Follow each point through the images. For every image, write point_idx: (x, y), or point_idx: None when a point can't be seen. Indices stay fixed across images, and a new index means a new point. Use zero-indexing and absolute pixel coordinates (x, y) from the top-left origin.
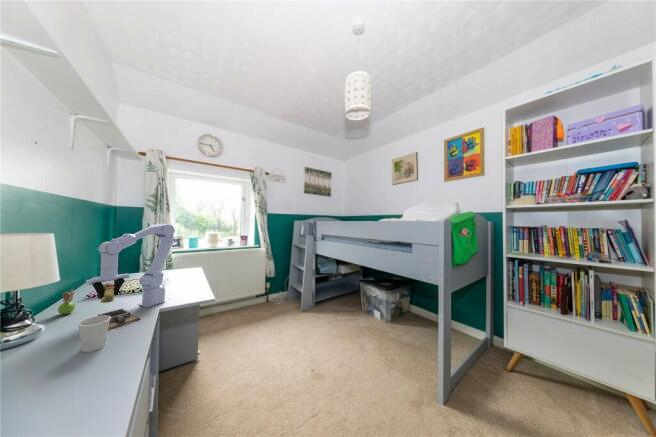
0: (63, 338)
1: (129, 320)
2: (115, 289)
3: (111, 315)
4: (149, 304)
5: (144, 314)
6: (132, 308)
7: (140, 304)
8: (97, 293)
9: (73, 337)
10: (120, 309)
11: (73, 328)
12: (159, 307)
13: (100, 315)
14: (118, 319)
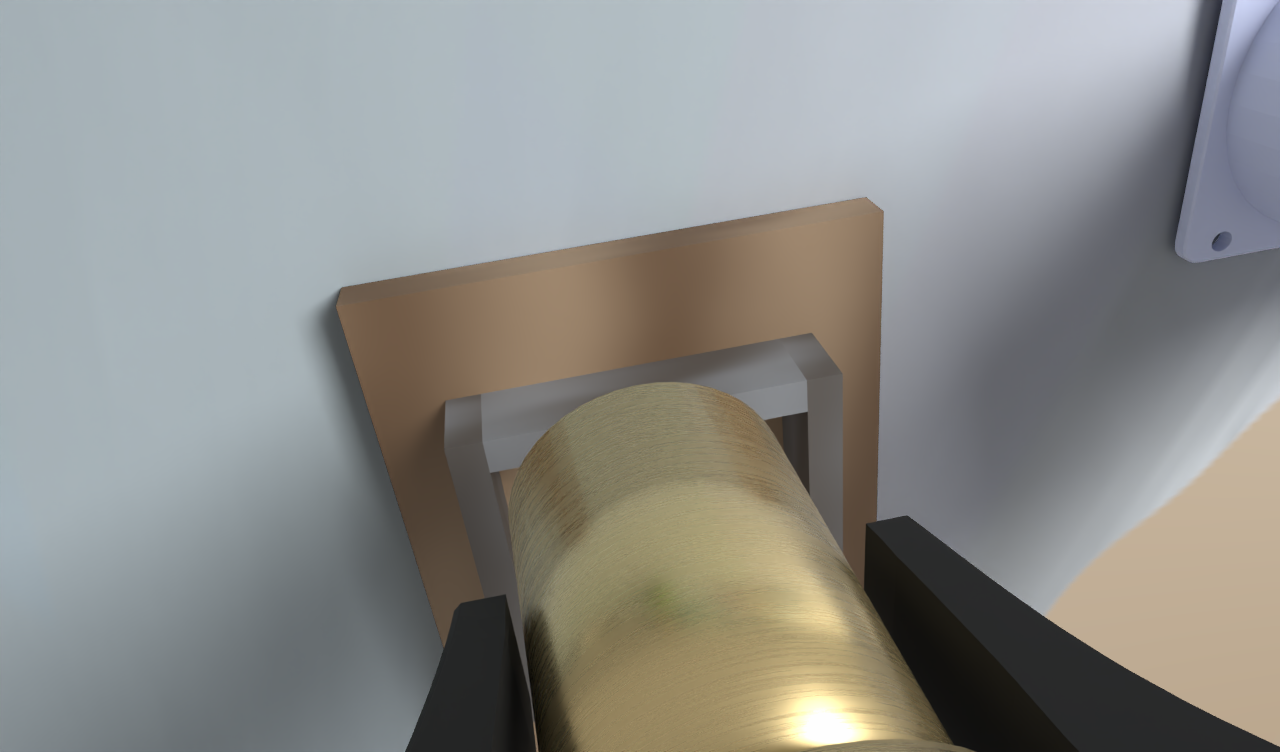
0: (66, 702)
1: None
2: (960, 700)
3: None
4: (1276, 222)
5: (983, 539)
6: (1049, 92)
7: (1233, 33)
8: (426, 744)
9: (176, 737)
10: (805, 410)
11: (130, 433)
12: (1257, 398)
13: (482, 513)
14: None
